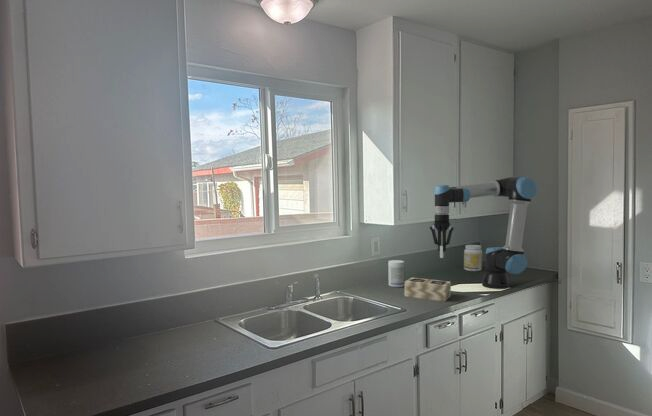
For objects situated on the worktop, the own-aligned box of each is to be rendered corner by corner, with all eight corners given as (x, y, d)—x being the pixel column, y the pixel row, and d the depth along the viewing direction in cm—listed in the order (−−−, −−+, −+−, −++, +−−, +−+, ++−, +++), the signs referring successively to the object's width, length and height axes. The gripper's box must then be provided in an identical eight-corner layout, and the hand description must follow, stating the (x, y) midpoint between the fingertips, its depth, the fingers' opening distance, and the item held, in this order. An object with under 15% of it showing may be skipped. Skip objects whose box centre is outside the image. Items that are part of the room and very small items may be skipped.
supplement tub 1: (407, 286, 274) (408, 261, 273) (395, 288, 269) (396, 263, 268) (396, 283, 282) (397, 259, 281) (384, 285, 277) (385, 260, 276)
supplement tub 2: (470, 267, 332) (471, 244, 331) (485, 270, 322) (486, 246, 321) (459, 269, 325) (460, 245, 324) (474, 272, 315) (475, 247, 314)
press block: (450, 296, 252) (450, 281, 251) (445, 301, 241) (445, 285, 240) (411, 291, 262) (411, 277, 261) (404, 296, 251) (404, 281, 251)
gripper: (428, 214, 248) (428, 257, 250) (452, 214, 242) (452, 259, 244) (431, 213, 255) (431, 255, 256) (455, 213, 249) (455, 257, 251)
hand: (441, 257), depth 250 cm, fingers closed
